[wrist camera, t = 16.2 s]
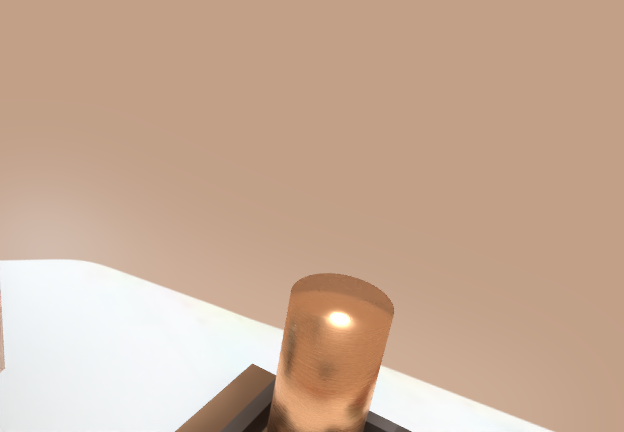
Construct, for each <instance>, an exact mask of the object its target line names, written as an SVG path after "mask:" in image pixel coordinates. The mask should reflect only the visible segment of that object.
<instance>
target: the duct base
mask: <svg viewBox="0 0 624 432" xmlns="http://www.w3.org/2000/svg"><path fill="white" fill-rule="evenodd" d="M275 381H276V375H274V374H272V373H270V372H268V371H266V370H264V369H262V368H260V367H258V366H256V365H254V364H251V365H250V366H249V367H248V368H247V369H246V370H245V371H244V372H242V373H241V374H240V375H239V376H238V377H237V378H236V379H234V380H233V381H232V382H231V383H230V384H229V385H228V386H226V387H225V388H224V389H223V390H222V391H221V392H220V393H219V394H217V395H216V396H215V397H214V398H213V399H212V400H211V401H209V402H208V403H207V404H206V405H205V406H204V407H203V408H202V409H200V410H199V411H198V412H197V413H196V414H195V415H194V416H192V417H191V418H190V419H189V420H188V421H187V422H186V423H184V424H183V425H182V426H181V427H180V428H179V429H178V430H177V431H175V432H267V426H268V421H269V415H270V409H271V403H272V398H273V392H274V386H275ZM363 432H411V431H409V430H407V429H405V428H403V427H401V426H399V425H397V424H395V423H393V422H391V421H389V420H387V419H385V418H383V417H381V416H379V415H377V414H375V413H373V412H371V411H368V415H367V419H366V423H365V427H364V431H363Z"/></svg>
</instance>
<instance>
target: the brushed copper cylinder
mask: <svg viewBox="0 0 624 432" xmlns="http://www.w3.org/2000/svg"><path fill="white" fill-rule="evenodd" d="M393 314H394V307H393V304H392V302H391V300H390V299H389V298H388V297H387V295H386V294H385V293H383V292H382V291H381V290H379V289H378V288H377V287H375V286H374V285H371V284H370V283H368V282H365V281H363V280H360V279H358V278H354V277H351V276H347V275H341V274H330V273H324V274H315V275H310V276H307V277H305V278H302V279H300V280H299V281H297V282H296V283H295V284H294V286H293V287H292V290H291V295H290V300H289V306H288V312H287V318H286V323H285V329H284V335H283V340H282V346H281V352H280V358H279V363H278V369H277V375H276V381H275V386H274V392H273V398H272V403H271V409H270V415H269V421H268V426H267V432H363V431H364V427H365V423H366V419H367V415H368V411H369V408H370V404H371V400H372V396H373V392H374V388H375V384H376V381H377V377H378V373H379V369H380V365H381V361H382V357H383V354H384V350H385V346H386V342H387V338H388V334H389V330H390V327H391V323H392V319H393Z"/></svg>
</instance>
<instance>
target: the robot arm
mask: <svg viewBox="0 0 624 432" xmlns="http://www.w3.org/2000/svg"><path fill="white" fill-rule="evenodd" d="M3 369H5V362H4V344H3V327H2V309H1V292H0V372H1V371H2V370H3Z"/></svg>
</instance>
